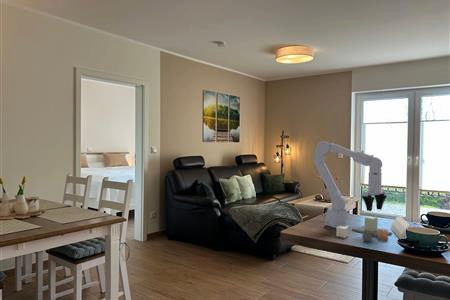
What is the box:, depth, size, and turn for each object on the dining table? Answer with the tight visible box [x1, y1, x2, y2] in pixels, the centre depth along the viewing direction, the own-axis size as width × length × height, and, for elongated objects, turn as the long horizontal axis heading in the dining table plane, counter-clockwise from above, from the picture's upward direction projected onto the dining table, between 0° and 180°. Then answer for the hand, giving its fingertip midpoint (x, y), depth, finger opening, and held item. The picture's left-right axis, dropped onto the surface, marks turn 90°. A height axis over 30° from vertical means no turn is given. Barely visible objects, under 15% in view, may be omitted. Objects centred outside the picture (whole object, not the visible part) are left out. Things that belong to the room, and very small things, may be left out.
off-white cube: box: [335, 226, 350, 239], centre depth 147 cm, size 4×4×4 cm
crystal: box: [390, 215, 414, 240], centre depth 150 cm, size 7×7×24 cm
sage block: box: [364, 216, 379, 232], centre depth 154 cm, size 4×4×6 cm
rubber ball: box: [361, 233, 372, 243], centre depth 139 cm, size 4×4×4 cm
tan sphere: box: [377, 228, 389, 241], centre depth 143 cm, size 4×4×4 cm
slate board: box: [351, 225, 393, 238], centre depth 154 cm, size 14×10×1 cm
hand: (374, 210), depth 158 cm, fingers open, 7 cm apart
